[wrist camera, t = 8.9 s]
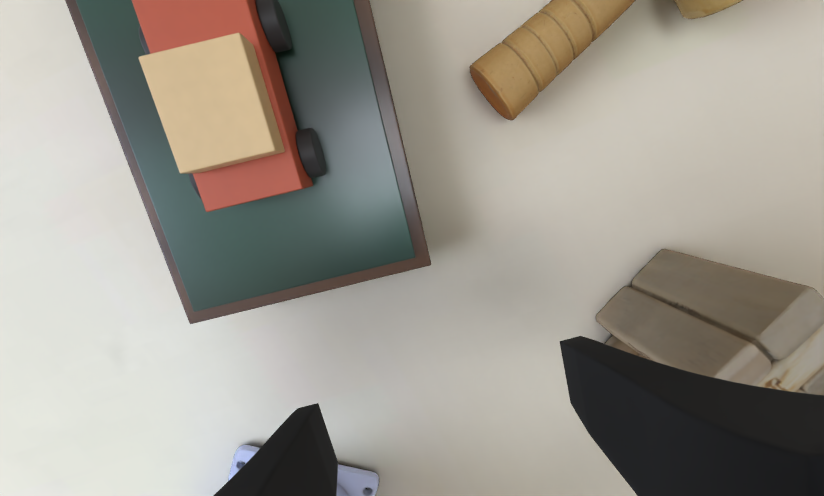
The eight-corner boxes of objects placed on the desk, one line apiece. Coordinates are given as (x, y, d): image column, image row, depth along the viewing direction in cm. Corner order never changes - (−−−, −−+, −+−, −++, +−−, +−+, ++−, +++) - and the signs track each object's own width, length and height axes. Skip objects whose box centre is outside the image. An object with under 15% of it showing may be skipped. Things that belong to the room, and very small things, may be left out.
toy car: (331, 181, 16) (313, 186, 12) (221, 208, 16) (169, 221, 12) (279, -5, 15) (240, -65, 11) (158, 24, 15) (76, -26, 11)
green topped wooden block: (426, 252, 20) (432, 267, 17) (214, 304, 20) (184, 328, 17) (341, -107, 17) (331, -165, 14) (86, -47, 17) (21, -92, 14)
